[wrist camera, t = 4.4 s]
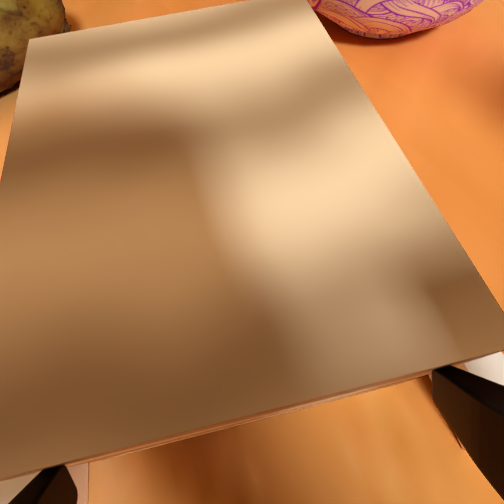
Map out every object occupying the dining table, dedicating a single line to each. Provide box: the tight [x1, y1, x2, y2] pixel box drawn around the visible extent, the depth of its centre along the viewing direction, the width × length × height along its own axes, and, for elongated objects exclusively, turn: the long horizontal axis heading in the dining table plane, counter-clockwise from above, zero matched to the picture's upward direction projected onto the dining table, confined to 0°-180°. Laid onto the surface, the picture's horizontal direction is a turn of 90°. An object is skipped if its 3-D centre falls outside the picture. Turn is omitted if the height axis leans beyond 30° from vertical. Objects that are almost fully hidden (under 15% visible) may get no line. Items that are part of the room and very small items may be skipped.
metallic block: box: [0, 0, 504, 481], centre depth 14 cm, size 16×12×8 cm
